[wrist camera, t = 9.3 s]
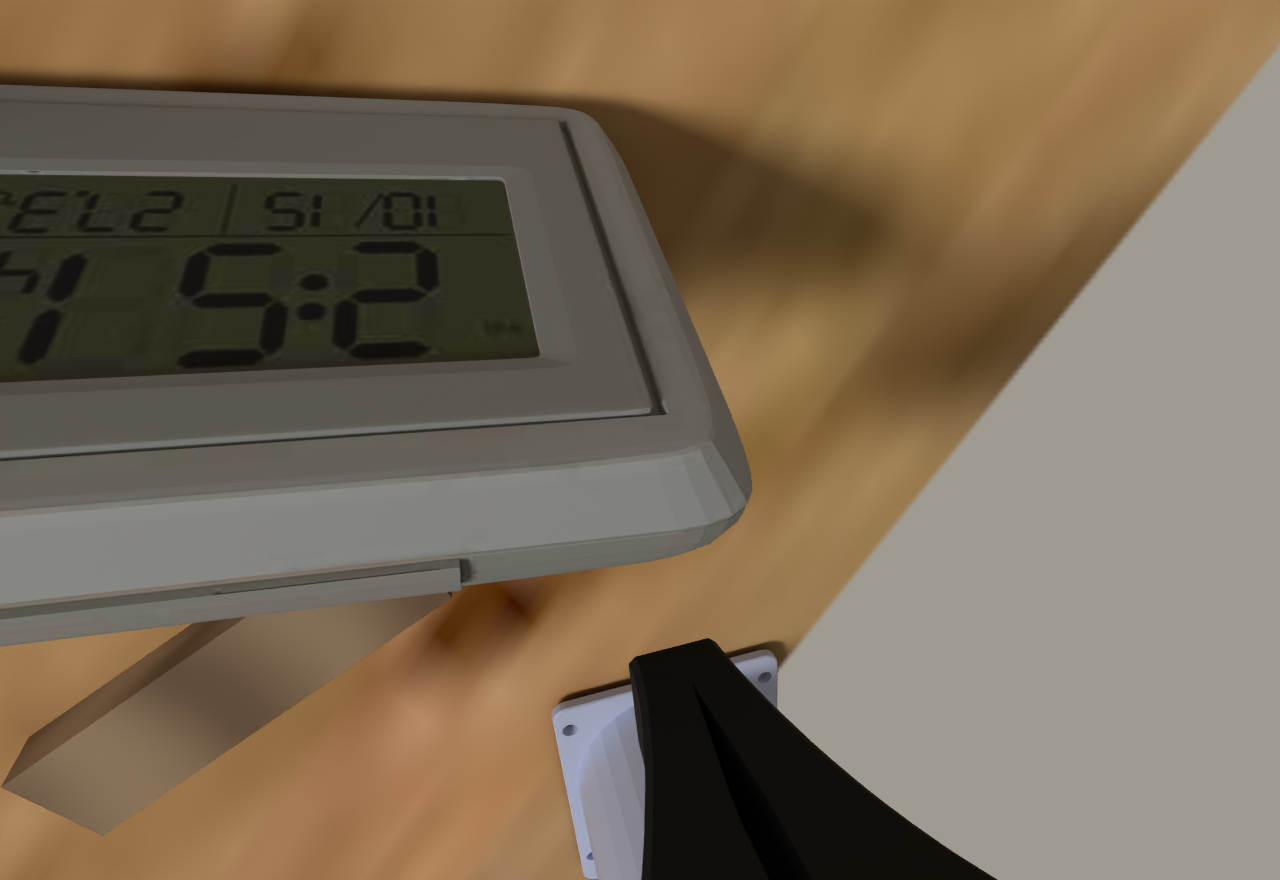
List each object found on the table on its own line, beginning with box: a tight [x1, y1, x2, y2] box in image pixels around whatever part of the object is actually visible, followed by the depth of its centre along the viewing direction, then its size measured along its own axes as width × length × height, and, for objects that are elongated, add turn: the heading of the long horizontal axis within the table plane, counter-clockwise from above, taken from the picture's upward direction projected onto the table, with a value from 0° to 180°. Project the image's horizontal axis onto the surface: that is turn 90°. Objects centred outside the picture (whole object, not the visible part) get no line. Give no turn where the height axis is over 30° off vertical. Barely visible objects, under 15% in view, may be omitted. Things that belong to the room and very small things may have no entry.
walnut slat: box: [1, 592, 452, 836], centre depth 21 cm, size 12×3×2 cm, turn 122°
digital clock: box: [0, 85, 752, 646], centre depth 12 cm, size 16×9×11 cm, turn 76°
